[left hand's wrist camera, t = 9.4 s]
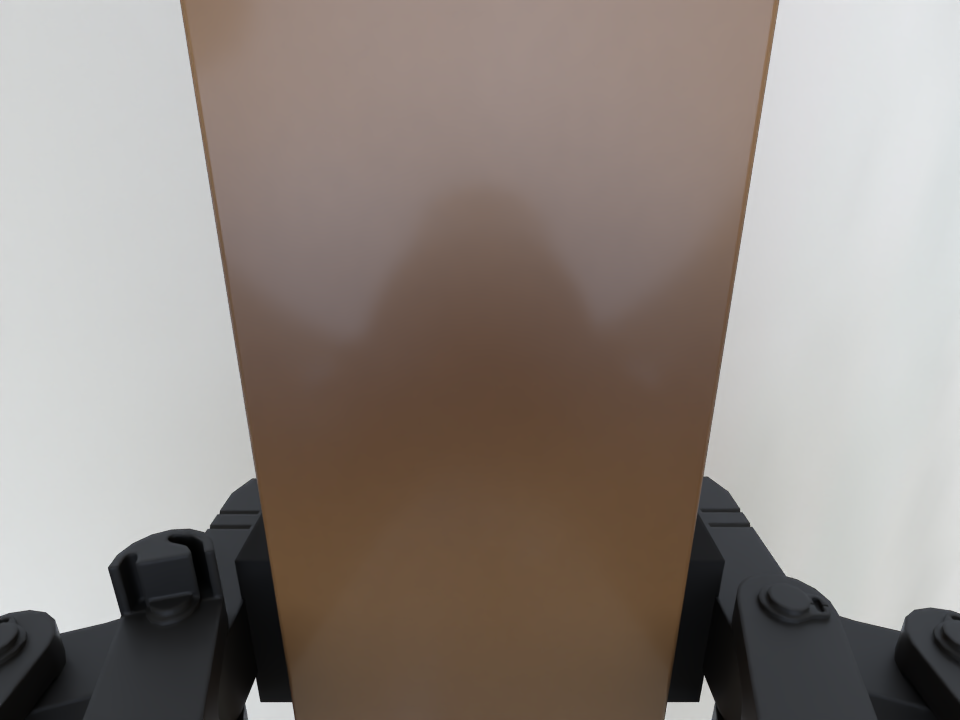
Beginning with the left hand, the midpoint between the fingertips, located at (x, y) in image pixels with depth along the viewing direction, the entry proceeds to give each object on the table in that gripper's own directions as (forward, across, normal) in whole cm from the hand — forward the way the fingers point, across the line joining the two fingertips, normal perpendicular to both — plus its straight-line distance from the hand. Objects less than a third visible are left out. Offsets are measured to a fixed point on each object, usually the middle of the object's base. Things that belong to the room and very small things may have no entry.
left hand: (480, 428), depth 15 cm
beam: (+1, 0, -21) cm, 21 cm away
